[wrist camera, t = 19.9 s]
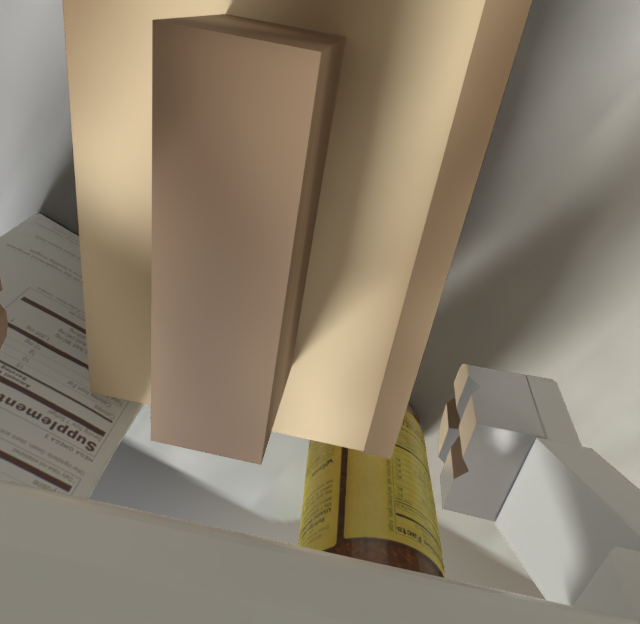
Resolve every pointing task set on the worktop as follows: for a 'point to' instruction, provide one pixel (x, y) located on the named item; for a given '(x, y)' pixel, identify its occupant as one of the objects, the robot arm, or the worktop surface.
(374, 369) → the lid
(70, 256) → the supplement box
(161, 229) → the walnut batten
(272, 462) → the worktop surface
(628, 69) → the worktop surface
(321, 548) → the sauce bottle
